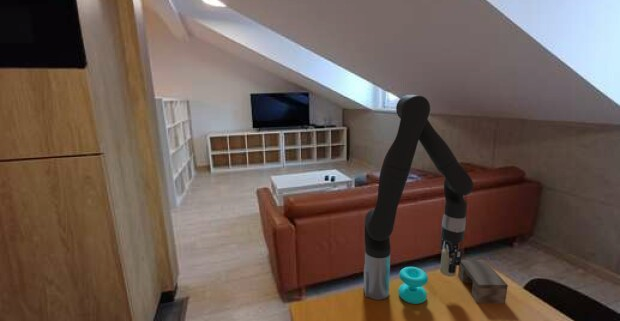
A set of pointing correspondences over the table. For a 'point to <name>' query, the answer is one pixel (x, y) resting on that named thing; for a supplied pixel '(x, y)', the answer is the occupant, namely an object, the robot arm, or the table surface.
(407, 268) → the turquoise spool
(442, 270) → the candle
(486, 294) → the bridge
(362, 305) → the table surface
